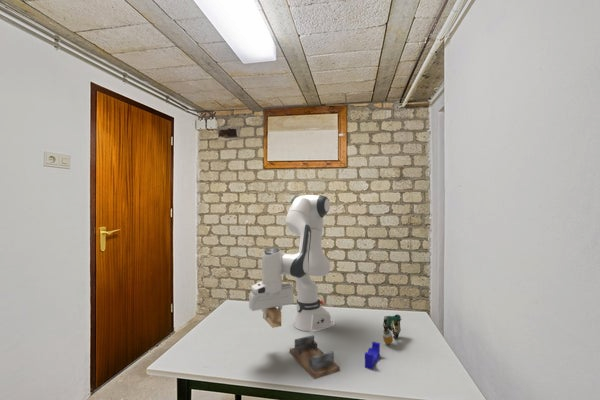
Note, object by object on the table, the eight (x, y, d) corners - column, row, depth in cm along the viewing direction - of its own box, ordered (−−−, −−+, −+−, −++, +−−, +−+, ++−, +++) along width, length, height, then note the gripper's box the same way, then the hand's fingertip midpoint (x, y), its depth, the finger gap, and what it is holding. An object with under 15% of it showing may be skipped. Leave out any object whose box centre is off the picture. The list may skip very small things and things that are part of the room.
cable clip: (369, 354, 135) (369, 340, 134) (379, 356, 132) (379, 343, 132) (361, 367, 124) (361, 352, 124) (372, 370, 122) (372, 355, 122)
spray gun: (403, 336, 151) (404, 307, 150) (388, 350, 138) (388, 319, 137) (395, 333, 154) (395, 305, 152) (379, 347, 141) (379, 316, 140)
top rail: (271, 316, 139) (271, 303, 139) (281, 326, 128) (281, 312, 128) (262, 317, 137) (262, 304, 137) (272, 327, 127) (272, 313, 127)
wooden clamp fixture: (312, 346, 141) (312, 332, 141) (339, 370, 121) (339, 354, 121) (289, 352, 135) (289, 337, 135) (313, 378, 116) (313, 361, 116)
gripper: (290, 280, 140) (290, 310, 140) (247, 286, 131) (247, 318, 131) (296, 284, 135) (296, 315, 135) (252, 290, 125) (252, 323, 126)
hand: (271, 316), depth 133 cm, fingers closed on top rail, 4 cm apart
